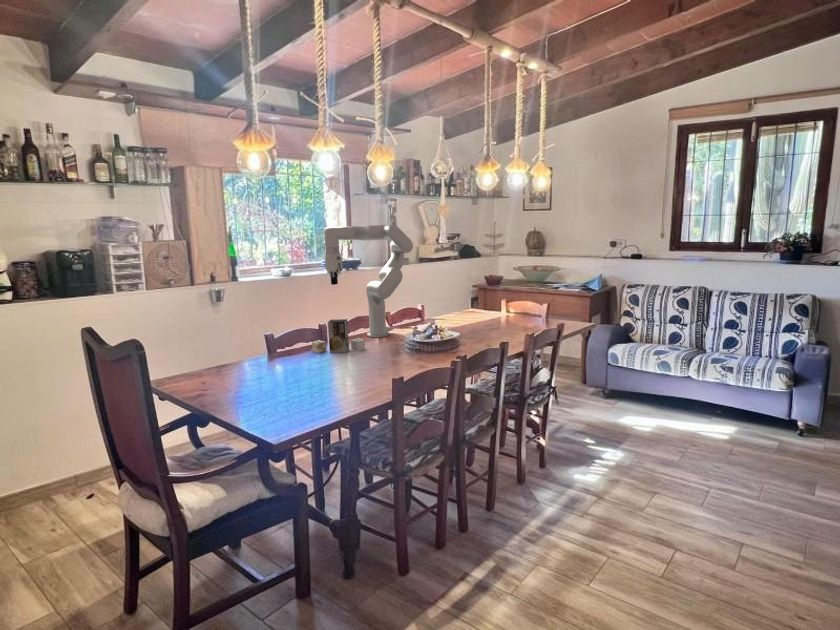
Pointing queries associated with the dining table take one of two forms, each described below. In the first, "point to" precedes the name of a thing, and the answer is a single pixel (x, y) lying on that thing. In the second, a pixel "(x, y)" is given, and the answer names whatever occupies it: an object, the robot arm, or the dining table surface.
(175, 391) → the dining table surface
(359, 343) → the grey block marked
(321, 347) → the birch block marked
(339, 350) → the coffee box
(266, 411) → the dining table surface
